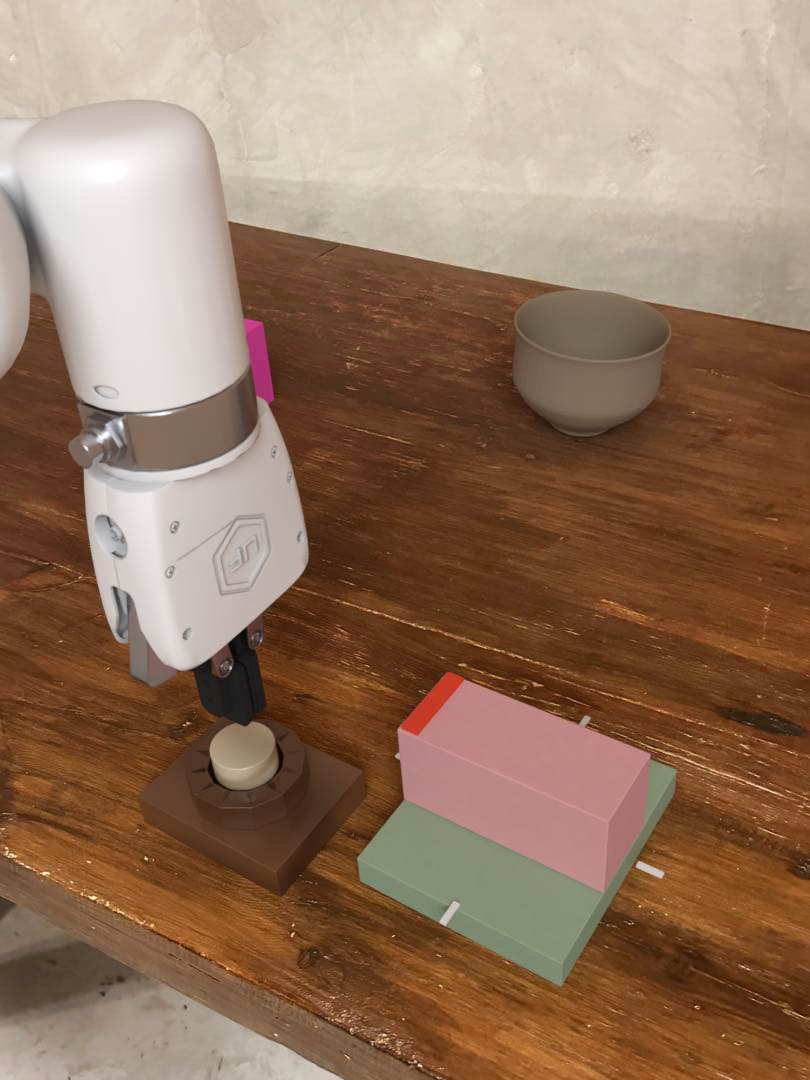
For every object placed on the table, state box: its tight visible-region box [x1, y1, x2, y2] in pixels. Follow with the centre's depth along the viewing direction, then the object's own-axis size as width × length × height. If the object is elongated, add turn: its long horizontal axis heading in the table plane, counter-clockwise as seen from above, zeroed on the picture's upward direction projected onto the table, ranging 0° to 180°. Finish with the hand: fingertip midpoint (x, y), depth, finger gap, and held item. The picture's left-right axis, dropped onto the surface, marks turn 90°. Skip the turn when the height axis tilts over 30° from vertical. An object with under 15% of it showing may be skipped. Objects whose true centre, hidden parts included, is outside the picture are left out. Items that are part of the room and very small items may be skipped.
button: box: [210, 722, 279, 791], centre depth 62 cm, size 4×4×2 cm
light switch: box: [136, 717, 367, 898], centre depth 63 cm, size 8×10×4 cm
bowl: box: [511, 289, 673, 438], centre depth 93 cm, size 13×13×10 cm
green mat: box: [356, 714, 678, 988], centre depth 61 cm, size 16×16×2 cm
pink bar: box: [397, 671, 652, 893], centre depth 59 cm, size 12×5×6 cm, turn 57°
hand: (234, 707), depth 60 cm, fingers closed
